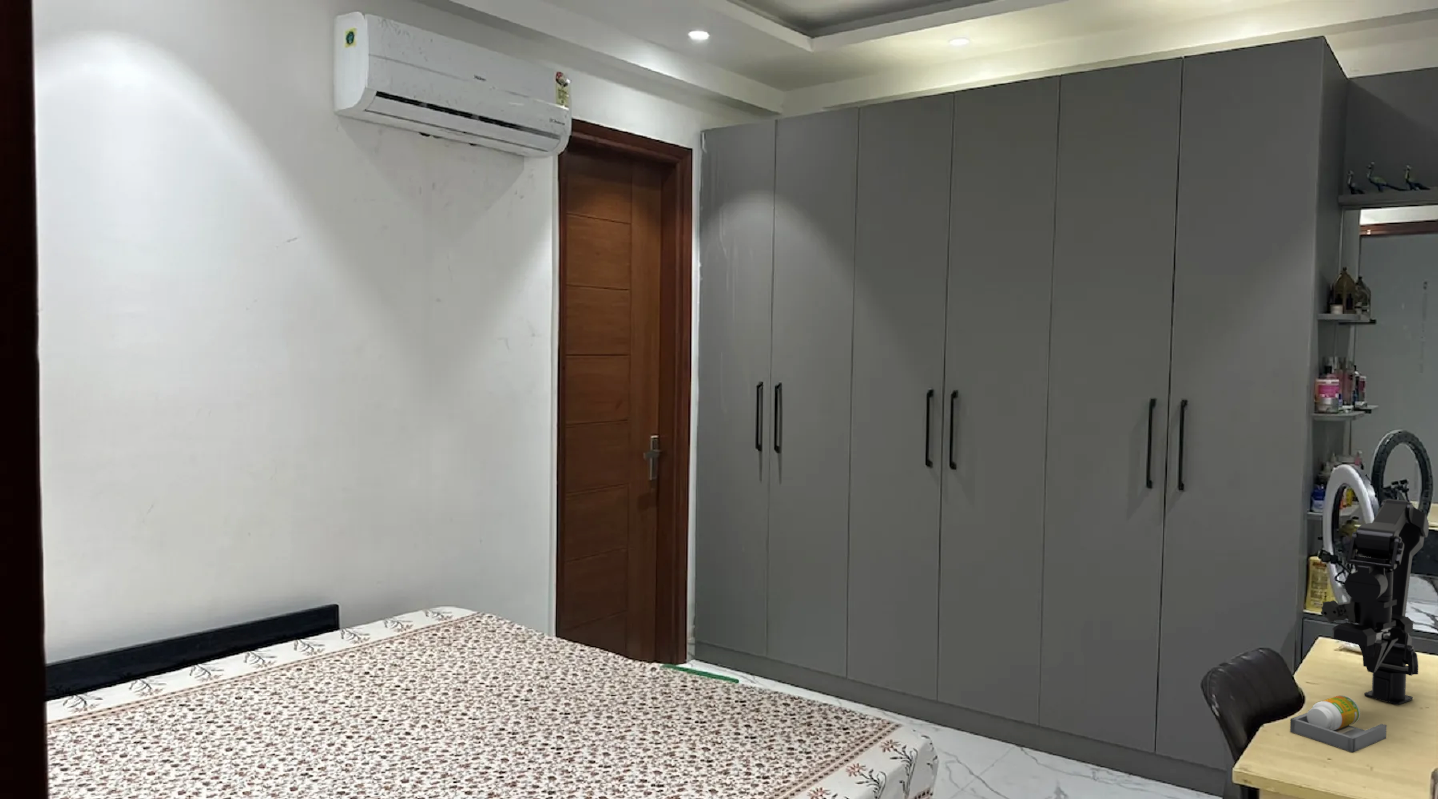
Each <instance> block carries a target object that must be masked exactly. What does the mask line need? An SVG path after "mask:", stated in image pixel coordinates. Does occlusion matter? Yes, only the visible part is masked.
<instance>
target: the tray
mask: <svg viewBox="0 0 1438 799" xmlns="http://www.w3.org/2000/svg"><path fill="white" fill-rule="evenodd" d="M1307 713H1308V712H1305V713H1302V714H1300V715H1299V714H1298V715H1297V716H1294V717H1292V718H1290V725H1289V728H1290V729H1289V732H1290V733H1293V734H1296V735H1299V736H1302V737H1305V738H1308V739H1310V740H1314V741H1317V742H1321V743H1323V744H1326V745H1329V746H1331V747H1335V748H1337V749H1341V750H1344V751H1347V752H1349V753H1354V752H1357V751H1359V750H1362V749H1364V748H1366V747H1369V746H1371V745H1373V744H1376V743H1378V742H1381V741H1383V740H1385V739H1387V724H1385V723H1380V724H1378V725H1376V726H1372V727H1370V728H1368V729H1363V728H1359V727H1357V726H1353V725H1348V726H1345V727H1342V728H1339V729H1336V730H1333V731H1332V730H1329V729H1326V728H1323V727H1320V726H1317V725H1314V724H1310V723H1309V722H1308V720H1307Z"/></svg>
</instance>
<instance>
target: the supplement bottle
mask: <svg viewBox="0 0 1438 799" xmlns="http://www.w3.org/2000/svg"><path fill="white" fill-rule="evenodd" d="M1360 710H1361V709H1360V707H1359V706H1358V704H1357V702H1356V701H1355V700H1354V699H1352V698H1351V697H1349V696H1346V695H1336V696H1333V697H1329V698H1327V699H1324V700H1321V701H1318V702H1316V703H1314V704H1313V706H1312V707H1311V708H1310V709H1309V710H1308V711H1307V712H1306V713H1307V720H1308V722H1309V723H1310V724H1314V725H1317V726H1320V727H1323V728H1326V729H1329V730H1332V731H1333V730H1336V729H1339V728H1342V727H1345V726H1348V725H1350V726H1352V725H1354V724H1355V723H1357V722H1358V720H1359V719H1360V717H1361V711H1360Z"/></svg>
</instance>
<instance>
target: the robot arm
mask: <svg viewBox="0 0 1438 799" xmlns="http://www.w3.org/2000/svg"><path fill="white" fill-rule="evenodd" d="M1429 523H1430V522H1429V519H1428V516H1427V514H1426V513H1425V512H1423V511H1422V510H1420V509H1418V508H1416V507H1414V504H1413V502H1411V501H1410V502H1409V501H1408V500H1400V499H1392V498H1391V499H1390V498H1387V499H1382V501H1381V505H1380V507H1379V508H1378V510H1377V514H1376V516H1375V517H1374V519H1373V520H1372V522H1367V523H1361V525H1359V526H1358V527H1357V528H1356V530H1355V531H1353V532H1352V534H1351V538H1350V543H1349V549H1348V553H1347V554H1348V555H1347V557H1346V558H1347V560H1346V563H1347V564H1351V565H1352V564H1353V565H1355V570H1354V572H1352V573H1351V574H1349V576H1347V577H1346V580H1345V582H1344V589H1345V591H1346V594H1347V595H1348V596H1349V597H1350V599H1349V600H1350V601H1345V602H1337V601H1336V600H1329V601H1324V602H1322V606H1321V611H1320V615H1321V616H1323V617H1324V618H1325V619H1326V621H1327V622H1328V623H1333V622H1335V621H1342V620H1347V621H1346V622H1343V623H1340V624H1336V625H1335V626H1334V627H1333V628H1332V630H1331V631H1332V633H1331V636H1332V640H1336V641H1341V642H1344V643H1348V644H1353V645H1357V646H1358V648H1359V650H1360V652H1361V655H1362V665H1363V667H1364V668H1366V671H1367V672H1368V673H1371V674H1372V681H1371V682H1372V683H1371V684H1372V685H1371V690H1368V691H1366V692H1364V694H1363V695H1364V696H1365V697H1368V698H1371V699H1374V700H1379V701H1382V702H1386V703H1389V704H1392V705H1402V704H1405V703H1408V702H1410V701H1412V700H1413V699H1414V697H1413V696H1411V695H1407V694H1406V687H1407V675H1408V676H1411V677H1412V676H1414V675H1419V660H1418V659H1419V658H1418V654H1417V652H1416V650H1415V646H1414V645H1412V643H1413V638H1412V637H1411V635H1410V634H1411V633H1413V632H1414V622H1413V621H1412V620H1411V618H1409V616H1406V615H1407V614H1406V613H1407V606H1408V605H1407V604H1408V595H1409V587H1410V580H1411V571H1412V563H1413V558H1414V556H1415V555H1416V554H1417V553H1418V552H1419V551H1420V550H1421V549H1422V548H1423V547H1424V542H1425V538H1428V535H1429V530H1430V526H1429Z"/></svg>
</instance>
